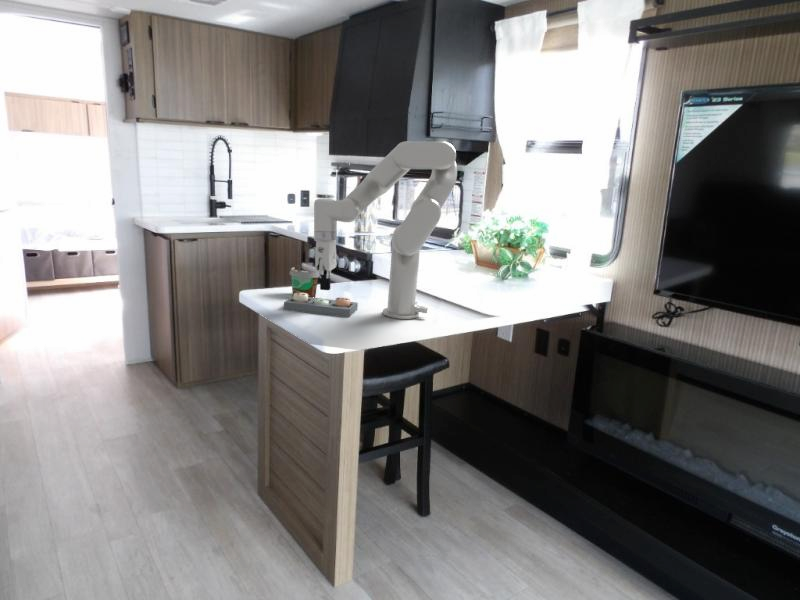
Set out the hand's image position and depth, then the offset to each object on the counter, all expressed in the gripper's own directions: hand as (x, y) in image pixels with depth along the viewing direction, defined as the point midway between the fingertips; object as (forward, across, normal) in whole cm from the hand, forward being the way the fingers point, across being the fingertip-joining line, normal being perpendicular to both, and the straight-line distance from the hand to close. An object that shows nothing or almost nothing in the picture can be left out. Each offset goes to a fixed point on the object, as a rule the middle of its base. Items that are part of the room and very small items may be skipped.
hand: (325, 289), depth 193 cm
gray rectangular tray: (+7, 0, +1) cm, 7 cm away
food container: (+7, +15, +14) cm, 22 cm away
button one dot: (+7, 0, +1) cm, 7 cm away
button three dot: (+6, 0, -6) cm, 9 cm away
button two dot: (+5, 0, +9) cm, 10 cm away
